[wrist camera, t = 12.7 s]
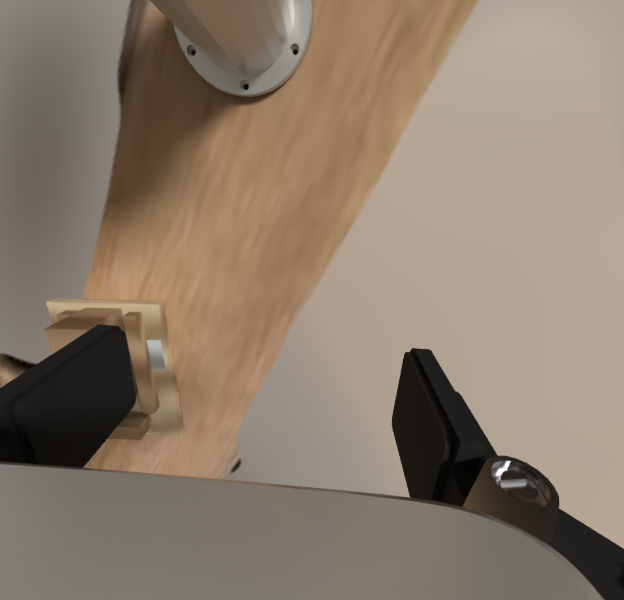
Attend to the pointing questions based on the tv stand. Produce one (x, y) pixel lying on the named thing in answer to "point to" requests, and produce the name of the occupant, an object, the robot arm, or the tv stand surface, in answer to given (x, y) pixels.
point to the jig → (140, 365)
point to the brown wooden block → (84, 328)
